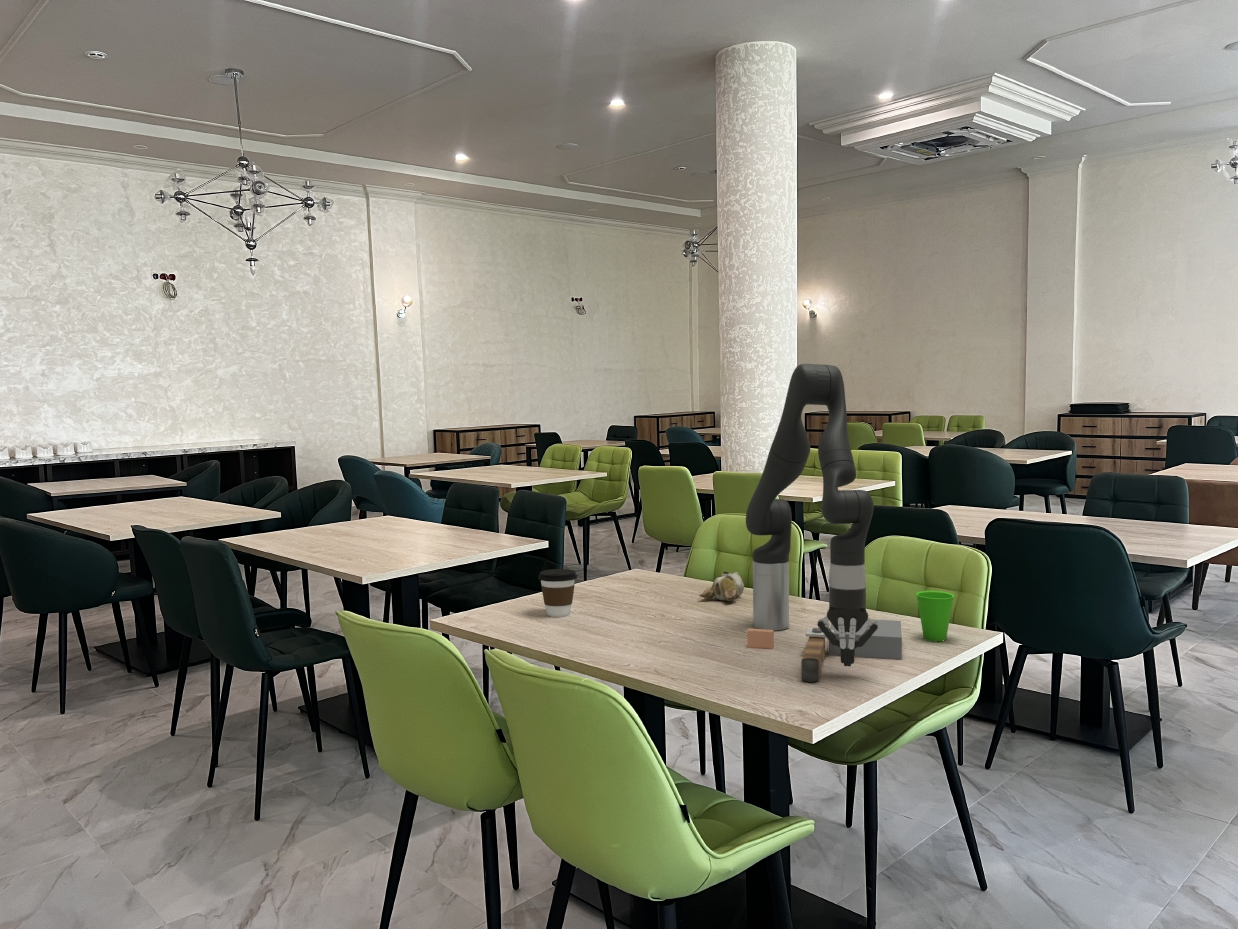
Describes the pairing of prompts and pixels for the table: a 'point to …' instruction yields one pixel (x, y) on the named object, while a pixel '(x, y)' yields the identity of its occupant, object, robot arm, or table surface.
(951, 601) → the cup
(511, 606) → the table surface
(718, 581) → the ceramic sculpture
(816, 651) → the leg
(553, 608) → the coffee cup
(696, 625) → the table surface
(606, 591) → the table surface
